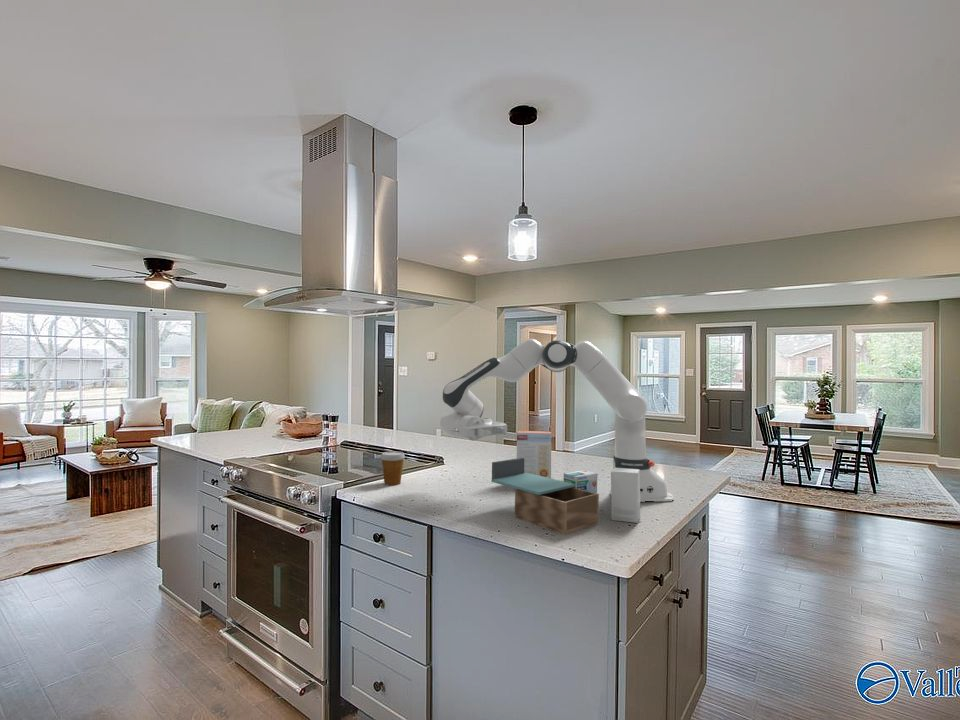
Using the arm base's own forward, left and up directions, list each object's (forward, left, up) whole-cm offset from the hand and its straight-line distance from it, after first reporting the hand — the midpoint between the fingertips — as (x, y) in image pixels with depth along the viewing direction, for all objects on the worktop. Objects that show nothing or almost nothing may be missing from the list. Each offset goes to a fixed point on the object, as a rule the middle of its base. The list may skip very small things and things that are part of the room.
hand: (497, 432), depth 177 cm
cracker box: (-14, -30, -24) cm, 41 cm away
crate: (-19, +19, -24) cm, 36 cm away
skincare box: (-41, +15, -24) cm, 50 cm away
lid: (-12, +12, -15) cm, 22 cm away
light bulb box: (-29, -1, -24) cm, 38 cm away
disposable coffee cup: (+42, -21, -24) cm, 53 cm away
